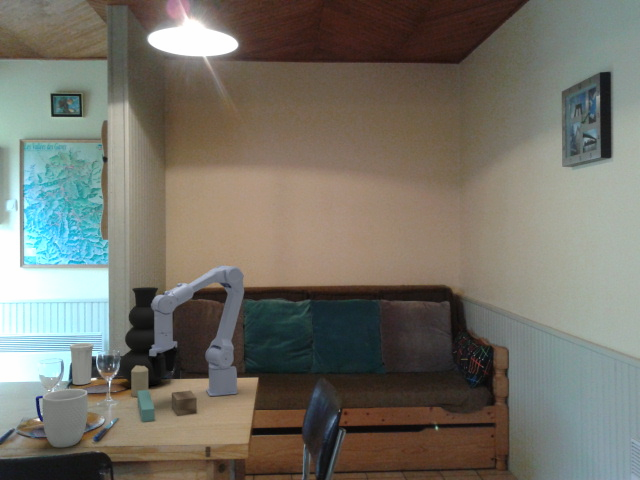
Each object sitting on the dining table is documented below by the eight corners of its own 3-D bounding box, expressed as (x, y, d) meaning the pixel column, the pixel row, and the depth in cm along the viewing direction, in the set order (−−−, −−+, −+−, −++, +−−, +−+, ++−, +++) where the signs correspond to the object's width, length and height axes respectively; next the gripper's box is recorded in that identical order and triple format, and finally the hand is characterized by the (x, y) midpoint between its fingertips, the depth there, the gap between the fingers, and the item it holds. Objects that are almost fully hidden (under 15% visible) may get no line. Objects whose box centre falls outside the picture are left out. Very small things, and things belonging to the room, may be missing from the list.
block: (190, 406, 190) (190, 390, 190) (196, 413, 182) (196, 397, 182) (171, 408, 187) (171, 392, 187) (176, 416, 179) (176, 400, 179)
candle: (150, 392, 204) (150, 364, 204) (144, 397, 199) (144, 367, 199) (135, 392, 205) (135, 363, 205) (128, 396, 199) (128, 367, 199)
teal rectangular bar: (148, 400, 195) (148, 389, 195) (154, 420, 175) (154, 408, 175) (137, 401, 194) (137, 390, 194) (142, 421, 173) (142, 410, 173)
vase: (178, 377, 225) (178, 286, 225) (160, 390, 207) (160, 291, 206) (132, 376, 227) (131, 285, 227) (110, 389, 209) (109, 290, 208)
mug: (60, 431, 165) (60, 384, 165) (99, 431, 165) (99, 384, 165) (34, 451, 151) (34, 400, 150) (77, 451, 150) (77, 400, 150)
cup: (65, 385, 213) (65, 346, 213) (78, 380, 221) (77, 342, 221) (85, 386, 212) (85, 347, 212) (98, 381, 220) (97, 343, 220)
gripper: (163, 327, 200) (164, 367, 200) (140, 335, 185) (140, 378, 186) (182, 328, 198) (183, 368, 198) (160, 336, 184) (161, 379, 184)
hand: (164, 373), depth 192 cm, fingers open, 7 cm apart
